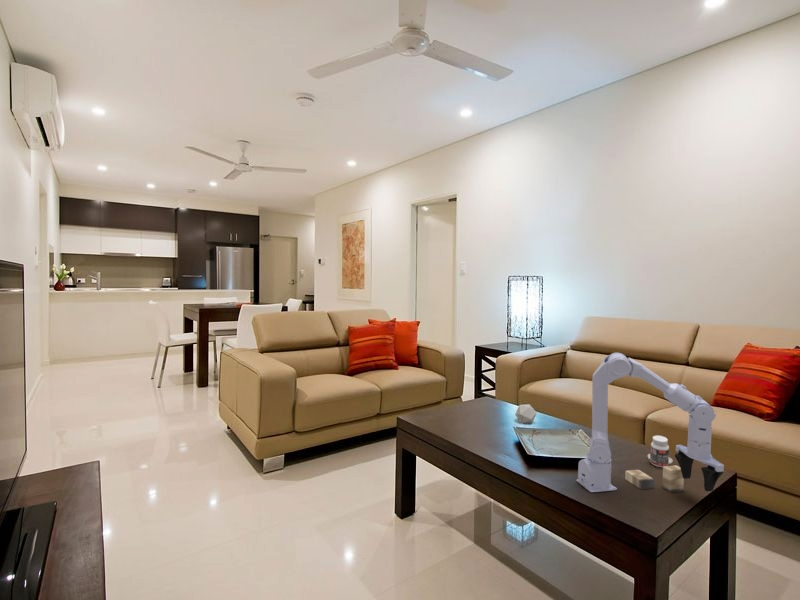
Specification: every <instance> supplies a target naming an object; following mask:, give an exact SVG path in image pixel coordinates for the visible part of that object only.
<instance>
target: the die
mask: <svg viewBox="0 0 800 600" xmlns="http://www.w3.org/2000/svg"><path fill="white" fill-rule="evenodd" d="M515 411H516V412H515V414H514V416H516V418H517V419H518V421H519V422H520V423H521V424H533V422H534V420H535V417H536V416H537V411H536V410H535V409H534V408H533V406H532V405H531V404H529V403H528V404H519V405H518V407H517V409H516V410H515Z"/></svg>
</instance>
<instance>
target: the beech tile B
mask: <svg viewBox="0 0 800 600" xmlns="http://www.w3.org/2000/svg"><path fill="white" fill-rule="evenodd" d="M661 483H662V487H661V488H663V489H664V490H666V491H667V492H669V493H674V492H683V491H684V485H685V484H684V483H685V479H684V478H683V476H682V472H681V469H680V466H678V465H676V464H675V465H668V466H663V467H662V482H661Z"/></svg>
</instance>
